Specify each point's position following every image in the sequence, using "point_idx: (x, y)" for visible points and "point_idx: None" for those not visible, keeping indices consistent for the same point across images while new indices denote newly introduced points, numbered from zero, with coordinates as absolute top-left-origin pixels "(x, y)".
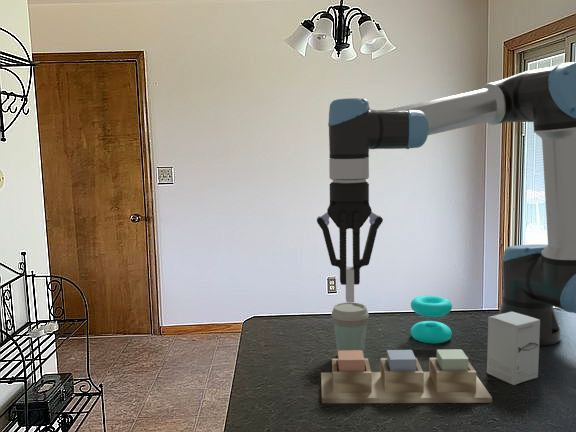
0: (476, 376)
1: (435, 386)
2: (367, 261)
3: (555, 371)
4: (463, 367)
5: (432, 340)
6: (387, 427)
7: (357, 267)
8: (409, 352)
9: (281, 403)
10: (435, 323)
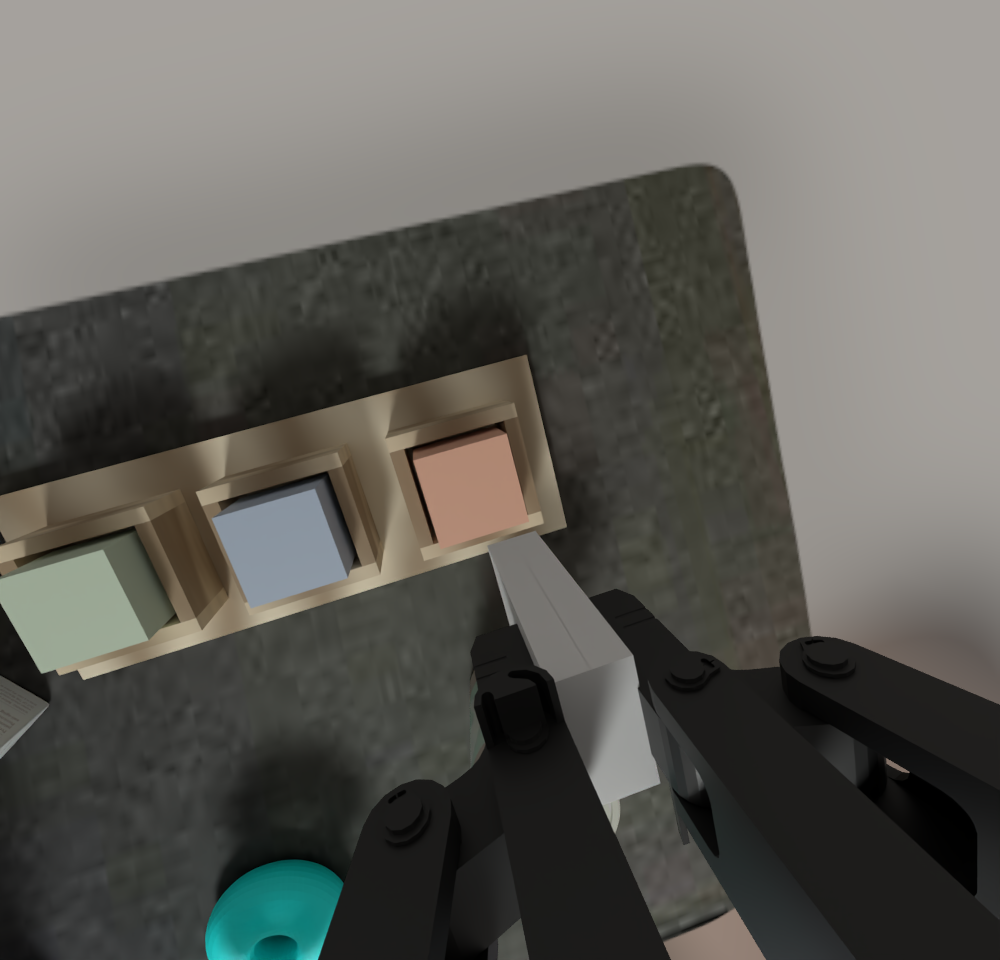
0: None
1: (187, 515)
2: (385, 846)
3: None
4: (38, 562)
5: (267, 868)
6: (303, 249)
7: (507, 688)
8: (254, 579)
9: (632, 328)
10: None
